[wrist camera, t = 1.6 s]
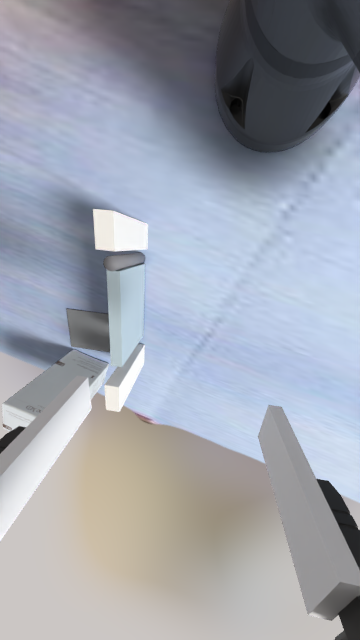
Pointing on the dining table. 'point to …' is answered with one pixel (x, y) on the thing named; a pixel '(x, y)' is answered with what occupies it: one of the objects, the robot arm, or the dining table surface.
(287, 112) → the robot arm
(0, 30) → the dining table surface
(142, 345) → the wall
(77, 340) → the mat
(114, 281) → the door
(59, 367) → the skincare box
